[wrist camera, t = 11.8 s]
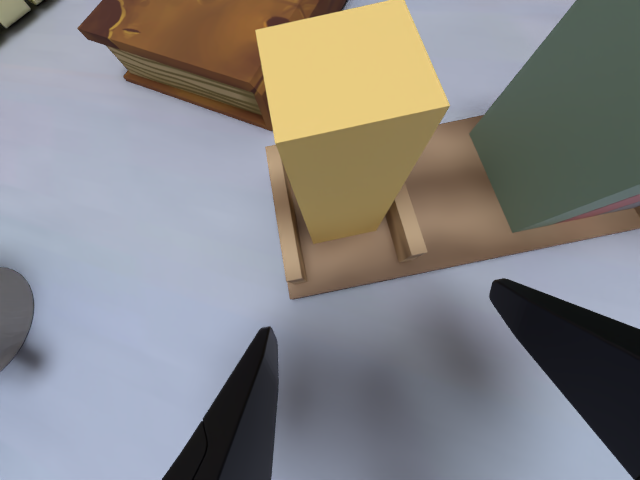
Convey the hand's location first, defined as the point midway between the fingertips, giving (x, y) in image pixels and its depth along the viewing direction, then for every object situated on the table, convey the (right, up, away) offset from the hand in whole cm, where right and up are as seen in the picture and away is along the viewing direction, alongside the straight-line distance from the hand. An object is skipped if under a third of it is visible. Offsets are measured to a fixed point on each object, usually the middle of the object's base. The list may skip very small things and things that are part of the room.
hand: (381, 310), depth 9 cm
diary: (-11, +27, +18) cm, 34 cm away
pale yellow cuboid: (-1, +5, +9) cm, 11 cm away
